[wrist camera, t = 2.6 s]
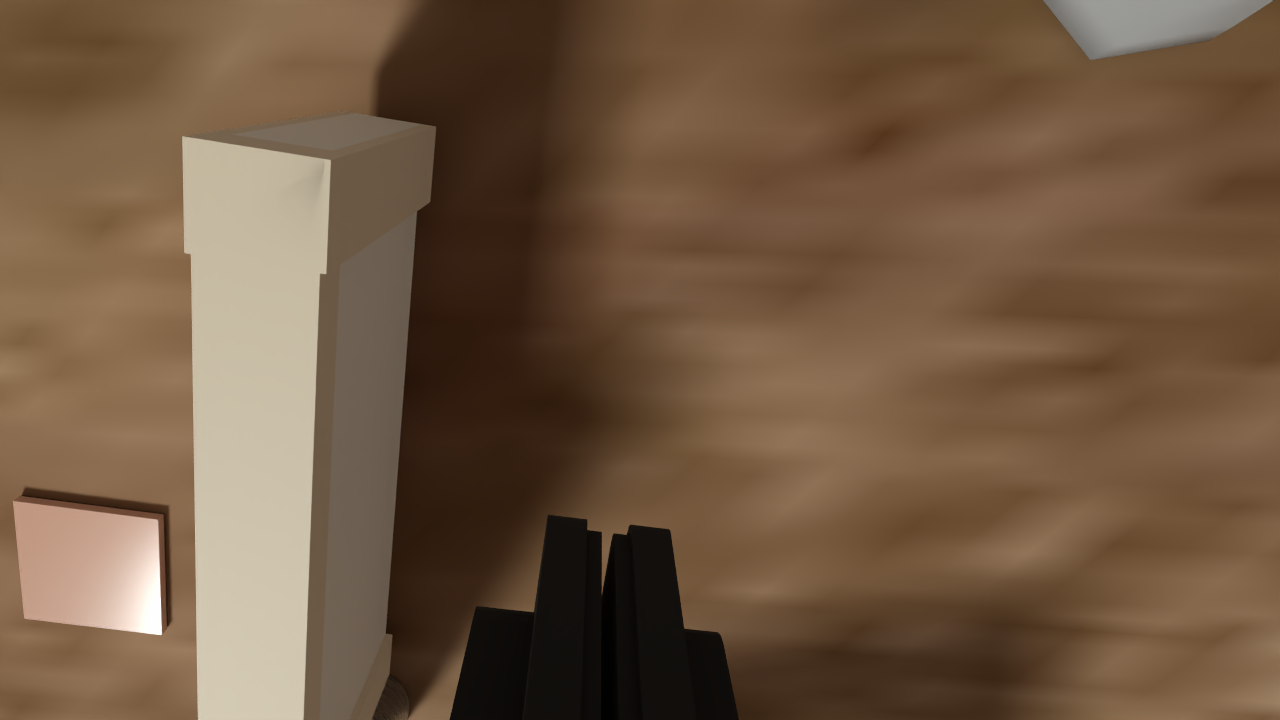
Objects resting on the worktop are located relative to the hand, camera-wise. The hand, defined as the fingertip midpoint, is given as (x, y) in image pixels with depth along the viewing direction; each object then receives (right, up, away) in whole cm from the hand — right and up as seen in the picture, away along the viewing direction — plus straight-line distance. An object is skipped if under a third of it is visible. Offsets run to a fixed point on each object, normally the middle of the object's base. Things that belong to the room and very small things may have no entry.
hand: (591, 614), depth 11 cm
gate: (-7, +2, +11) cm, 13 cm away
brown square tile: (-15, -3, +13) cm, 21 cm away
